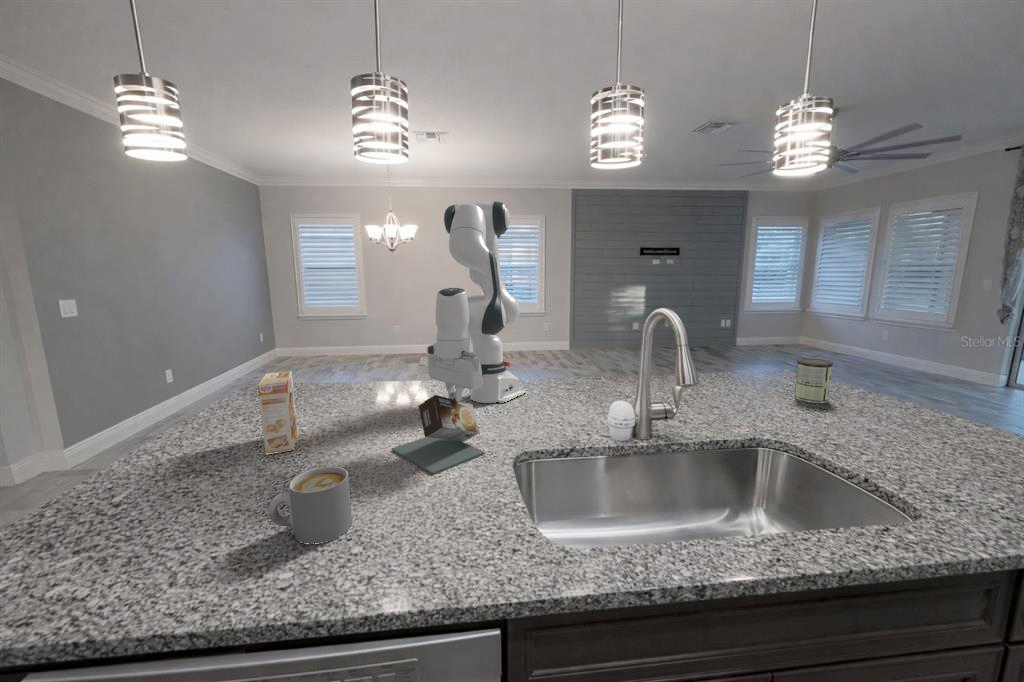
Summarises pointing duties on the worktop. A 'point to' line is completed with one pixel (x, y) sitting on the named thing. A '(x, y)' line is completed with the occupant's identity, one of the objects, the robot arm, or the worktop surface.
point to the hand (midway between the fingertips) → (455, 399)
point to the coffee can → (813, 380)
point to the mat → (437, 453)
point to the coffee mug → (316, 505)
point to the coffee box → (448, 419)
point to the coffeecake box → (278, 411)
